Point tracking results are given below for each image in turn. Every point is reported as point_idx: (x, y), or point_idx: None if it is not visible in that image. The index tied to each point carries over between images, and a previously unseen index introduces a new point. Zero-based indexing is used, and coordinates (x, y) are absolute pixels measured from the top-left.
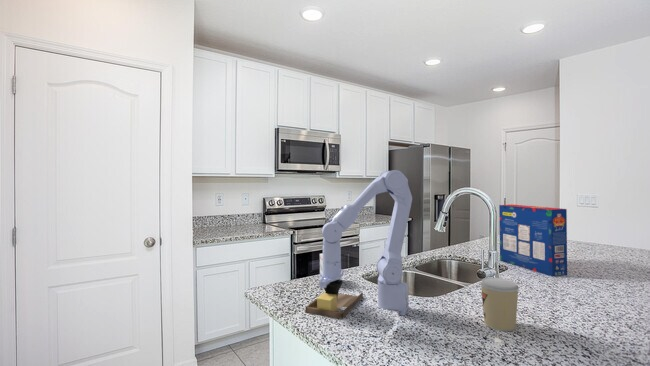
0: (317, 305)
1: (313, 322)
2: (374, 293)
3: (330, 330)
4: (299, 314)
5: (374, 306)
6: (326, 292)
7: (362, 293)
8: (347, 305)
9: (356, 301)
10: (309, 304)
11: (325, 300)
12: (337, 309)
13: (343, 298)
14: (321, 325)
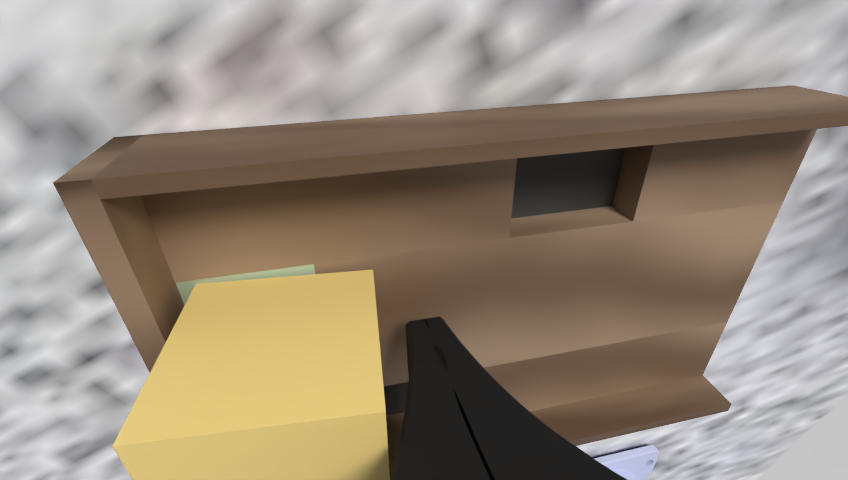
0: (165, 352)
1: (58, 297)
2: (810, 354)
3: (62, 460)
4: (91, 22)
5: (589, 443)
6: (401, 446)
7: (714, 410)
8: (504, 387)
9: (568, 426)
10: (202, 173)
11: None
12: (387, 376)
13: (653, 291)
14: (73, 378)
